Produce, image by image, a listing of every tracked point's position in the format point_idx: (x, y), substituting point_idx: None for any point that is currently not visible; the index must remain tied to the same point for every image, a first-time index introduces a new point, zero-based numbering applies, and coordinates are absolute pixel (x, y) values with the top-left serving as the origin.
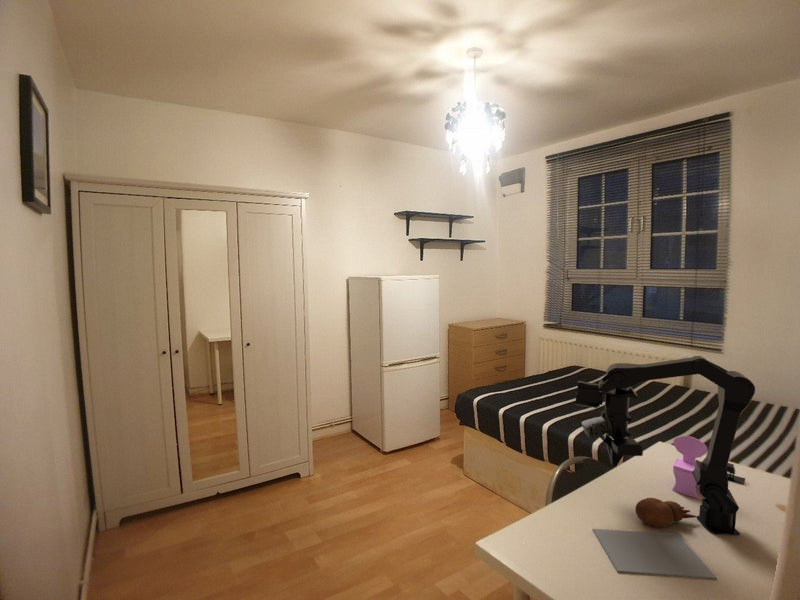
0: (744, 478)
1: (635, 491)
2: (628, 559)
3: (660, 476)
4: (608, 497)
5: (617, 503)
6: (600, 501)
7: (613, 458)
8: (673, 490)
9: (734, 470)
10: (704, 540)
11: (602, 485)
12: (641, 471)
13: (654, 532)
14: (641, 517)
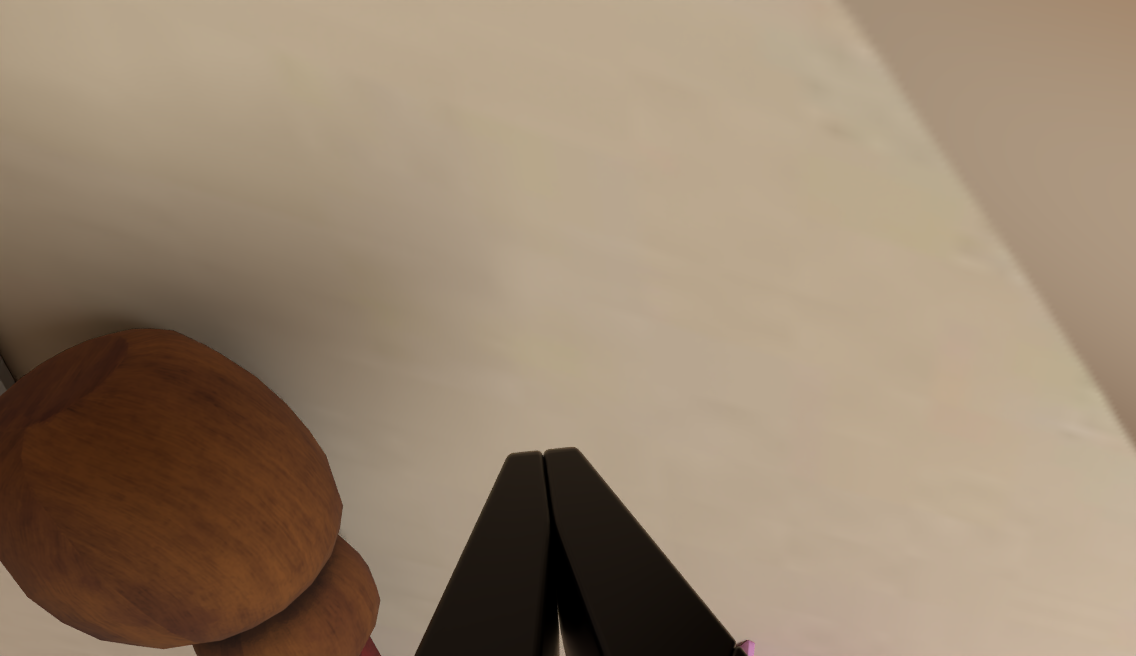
0: None
1: (727, 430)
2: None
3: (935, 629)
4: (596, 158)
5: (485, 216)
6: (490, 31)
7: (437, 638)
8: (742, 646)
9: None
10: None
11: (847, 172)
12: (1029, 549)
13: (4, 382)
14: (70, 358)
